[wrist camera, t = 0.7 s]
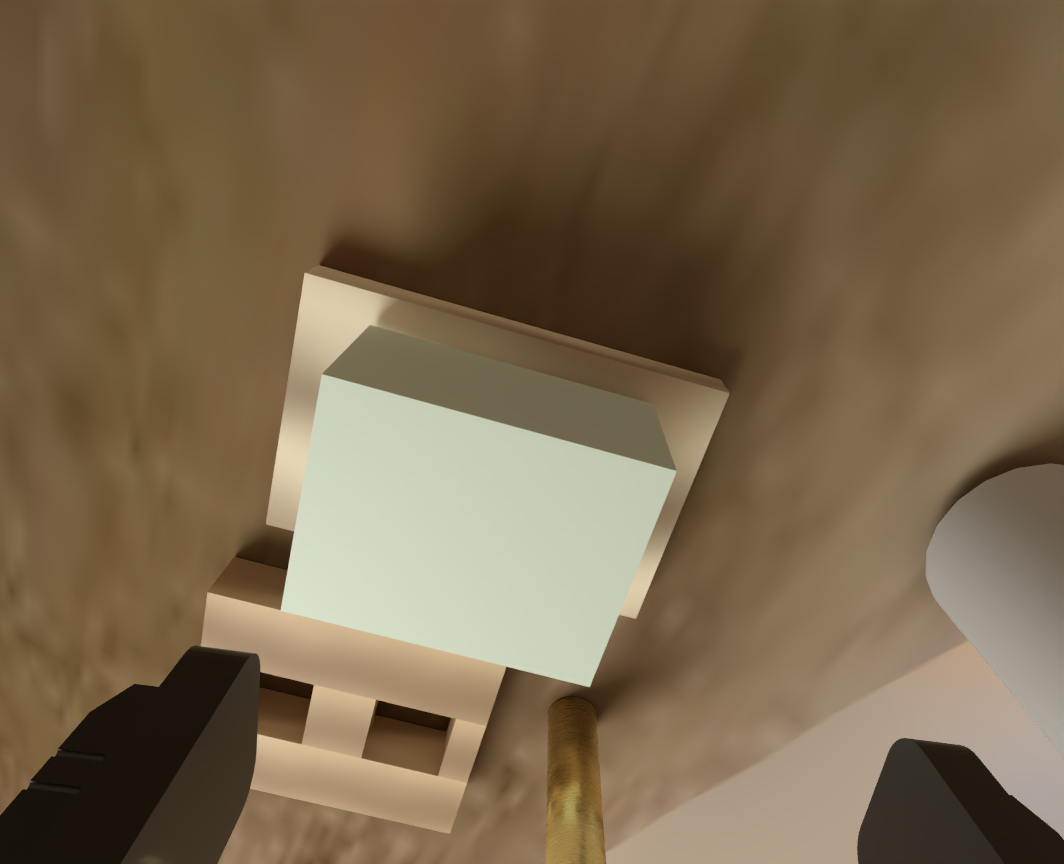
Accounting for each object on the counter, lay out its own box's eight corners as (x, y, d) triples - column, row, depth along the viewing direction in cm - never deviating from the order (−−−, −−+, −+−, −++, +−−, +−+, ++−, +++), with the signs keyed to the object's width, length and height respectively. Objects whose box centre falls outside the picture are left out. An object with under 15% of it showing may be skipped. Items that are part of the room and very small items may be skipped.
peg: (555, 691, 32) (555, 885, 24) (602, 703, 32) (618, 900, 24) (542, 727, 33) (537, 926, 25) (587, 738, 33) (598, 940, 25)
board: (318, 264, 25) (277, 287, 21) (720, 379, 26) (747, 419, 23) (279, 505, 29) (239, 559, 25) (632, 596, 30) (642, 661, 26)
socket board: (234, 556, 30) (207, 592, 28) (510, 626, 31) (506, 665, 29) (210, 730, 34) (185, 773, 31) (456, 787, 35) (449, 833, 32)
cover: (369, 324, 24) (321, 374, 19) (653, 404, 25) (677, 470, 20) (330, 524, 27) (280, 610, 22) (584, 589, 28) (589, 687, 23)
